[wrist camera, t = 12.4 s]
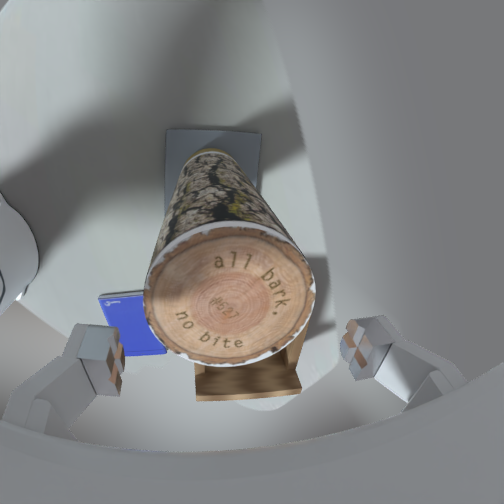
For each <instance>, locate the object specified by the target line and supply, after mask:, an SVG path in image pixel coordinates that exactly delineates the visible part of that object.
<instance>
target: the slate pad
mask: <svg viewBox="0 0 504 504" xmlns="http://www.w3.org/2000/svg"><path fill="white" fill-rule="evenodd" d="M261 136H262V134H259V133H248V132H235V131H218V130H192V129H167V132H166V154H165V215H166V212H167V209H168V206H169V203H170V201H171V198H172V195H173V192H174V189H175V187H176V184H177V181H178V179H179V176H180V173H181V171H182V169H183V166H184V164H185V162H186V161H187V160H188V158H189V157H190V156H191V155H193V154H194V153H196V152H197V151H200V150H202V149H207V148H215V149H220V150H222V151H225V152H226V153H228V154H229V155H230V156H232V158H233V159H234V160H235V161H236V162H237V164H238V165H239V166H240V168H241V169H242V170H243V172H244V173H245V174H246V176H247V177H248V178H249V180H250V181H251V182H252V184H253V185H254V186H255V188H256V184H257V174H258V165H259V155H260V146H261Z"/></svg>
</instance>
